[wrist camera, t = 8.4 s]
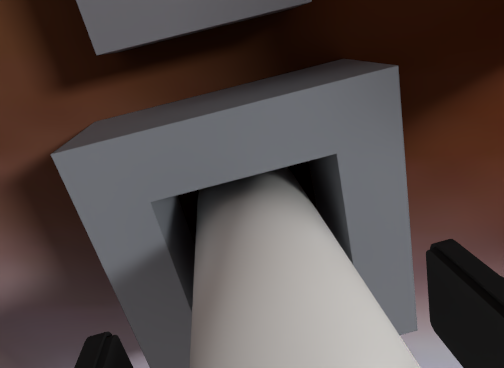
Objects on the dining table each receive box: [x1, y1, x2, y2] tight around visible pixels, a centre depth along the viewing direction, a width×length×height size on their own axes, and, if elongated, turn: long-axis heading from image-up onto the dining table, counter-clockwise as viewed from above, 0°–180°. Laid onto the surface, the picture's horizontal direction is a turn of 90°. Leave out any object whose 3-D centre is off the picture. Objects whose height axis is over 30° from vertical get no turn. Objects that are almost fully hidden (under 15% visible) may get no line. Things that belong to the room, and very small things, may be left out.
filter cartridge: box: [190, 167, 421, 368], centre depth 11 cm, size 5×5×16 cm
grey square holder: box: [51, 59, 417, 368], centre depth 16 cm, size 11×11×5 cm
